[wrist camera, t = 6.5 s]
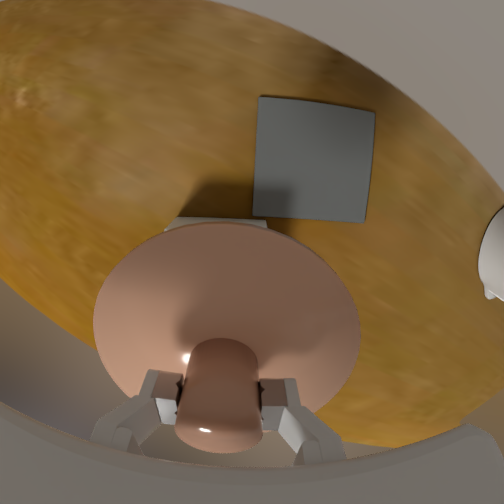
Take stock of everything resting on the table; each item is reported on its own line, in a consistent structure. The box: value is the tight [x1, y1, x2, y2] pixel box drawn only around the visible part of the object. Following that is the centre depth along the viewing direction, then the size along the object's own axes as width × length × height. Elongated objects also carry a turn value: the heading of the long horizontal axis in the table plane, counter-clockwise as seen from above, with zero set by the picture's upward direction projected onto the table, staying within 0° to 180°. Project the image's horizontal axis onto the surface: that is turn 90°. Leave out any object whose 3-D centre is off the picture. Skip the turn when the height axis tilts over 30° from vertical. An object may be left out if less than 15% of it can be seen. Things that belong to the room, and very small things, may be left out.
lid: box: [93, 221, 361, 453], centre depth 11 cm, size 13×13×5 cm
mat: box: [252, 97, 375, 223], centre depth 28 cm, size 13×13×1 cm
